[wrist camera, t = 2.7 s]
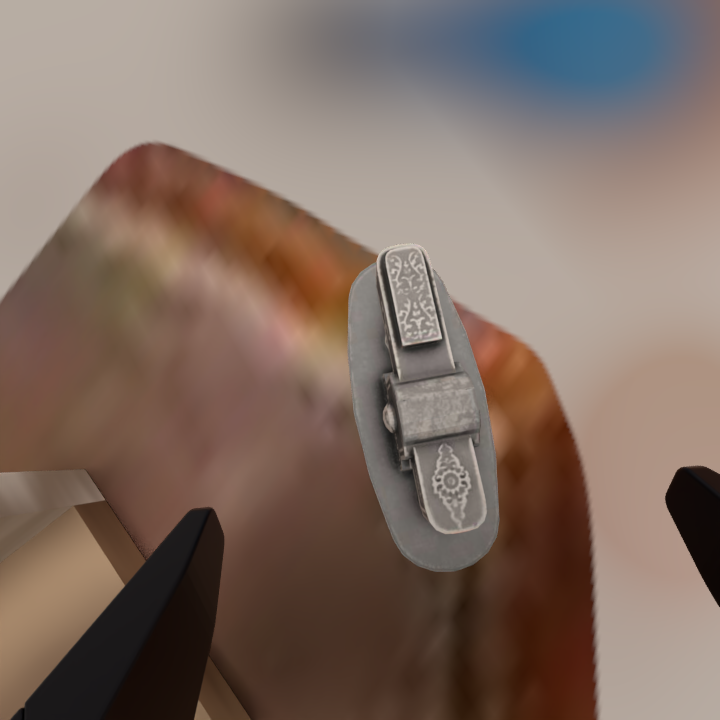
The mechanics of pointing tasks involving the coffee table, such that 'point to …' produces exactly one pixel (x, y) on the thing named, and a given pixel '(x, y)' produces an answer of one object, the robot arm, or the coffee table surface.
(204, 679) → the board
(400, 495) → the lighter
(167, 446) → the coffee table surface
